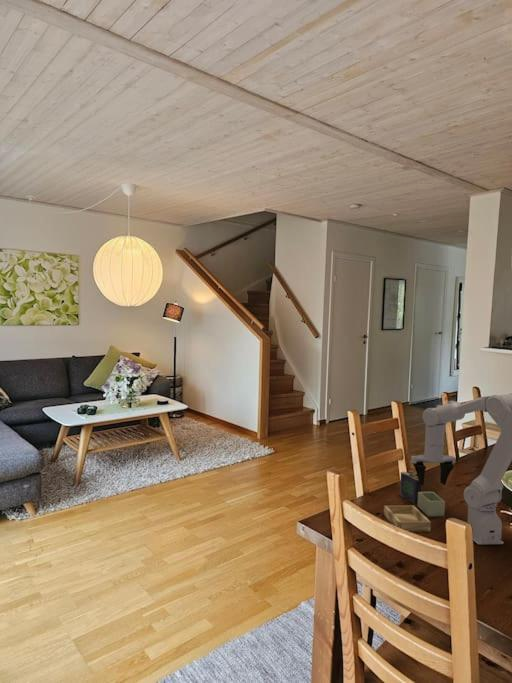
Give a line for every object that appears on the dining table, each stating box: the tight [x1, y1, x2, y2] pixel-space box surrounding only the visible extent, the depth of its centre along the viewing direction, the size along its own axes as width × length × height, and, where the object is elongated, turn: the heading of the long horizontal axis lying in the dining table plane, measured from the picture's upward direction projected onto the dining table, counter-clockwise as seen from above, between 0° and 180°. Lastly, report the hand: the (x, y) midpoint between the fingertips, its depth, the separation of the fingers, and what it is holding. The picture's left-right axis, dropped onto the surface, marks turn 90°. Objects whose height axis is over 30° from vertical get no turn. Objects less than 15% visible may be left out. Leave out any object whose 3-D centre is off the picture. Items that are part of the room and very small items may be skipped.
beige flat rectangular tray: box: [383, 504, 432, 533], centre depth 143 cm, size 12×10×3 cm
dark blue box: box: [399, 470, 422, 506], centre depth 160 cm, size 9×3×11 cm, turn 24°
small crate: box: [416, 491, 446, 517], centre depth 152 cm, size 8×5×5 cm
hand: (431, 483), depth 151 cm, fingers open, 7 cm apart
